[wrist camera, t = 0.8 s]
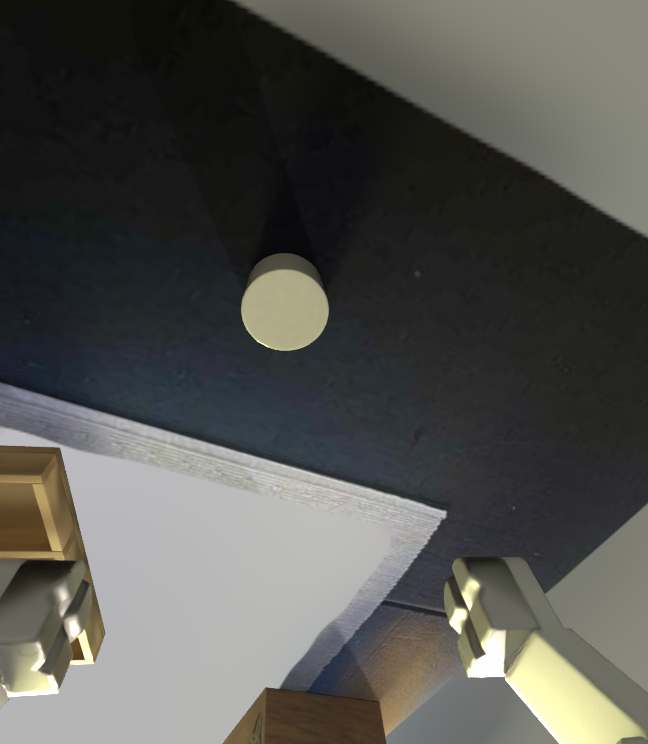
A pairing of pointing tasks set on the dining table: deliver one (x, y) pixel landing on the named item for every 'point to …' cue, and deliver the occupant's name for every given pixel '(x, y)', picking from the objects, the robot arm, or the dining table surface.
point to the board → (44, 525)
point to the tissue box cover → (308, 720)
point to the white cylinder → (284, 302)
